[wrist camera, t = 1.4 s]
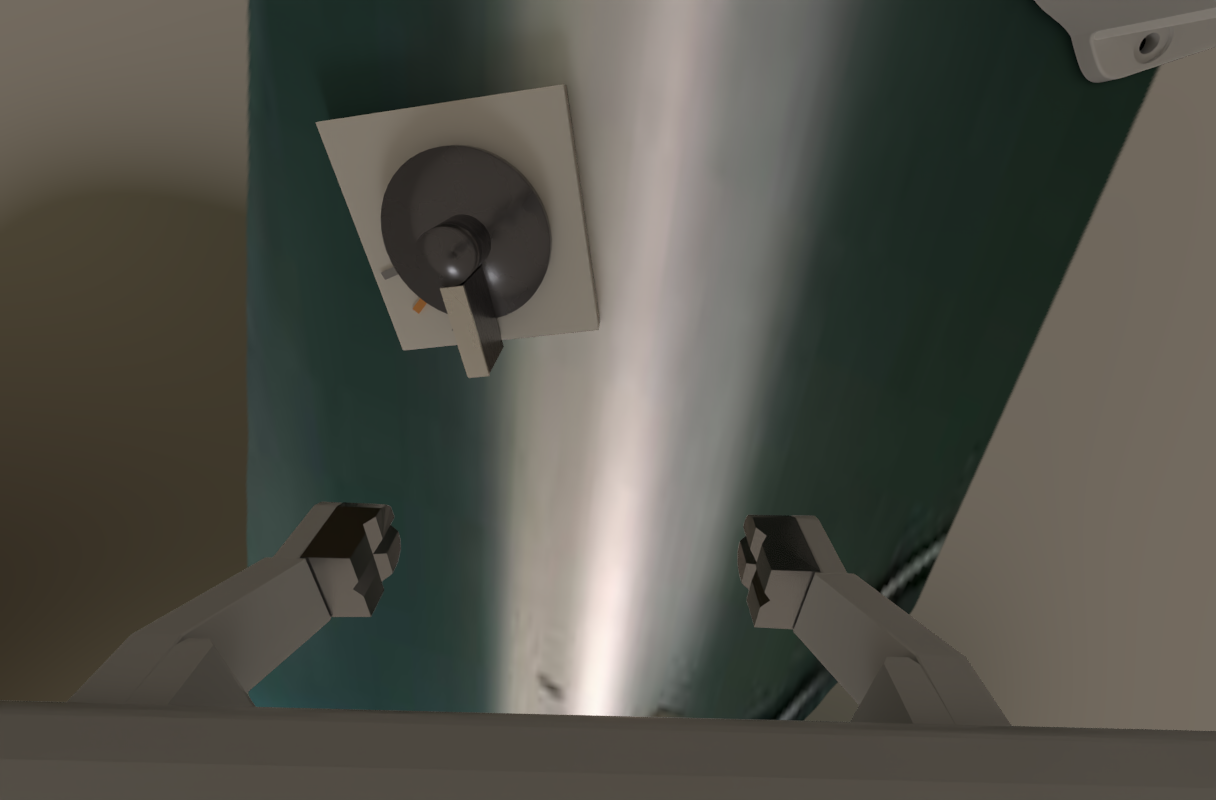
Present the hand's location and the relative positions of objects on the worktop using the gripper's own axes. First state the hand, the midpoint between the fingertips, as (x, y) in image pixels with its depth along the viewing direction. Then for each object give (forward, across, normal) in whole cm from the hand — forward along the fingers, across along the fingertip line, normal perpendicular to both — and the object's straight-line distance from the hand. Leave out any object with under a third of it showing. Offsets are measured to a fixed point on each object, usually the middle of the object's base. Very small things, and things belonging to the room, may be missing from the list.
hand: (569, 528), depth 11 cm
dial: (+22, +8, -1) cm, 23 cm away
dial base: (+24, +8, -2) cm, 25 cm away
